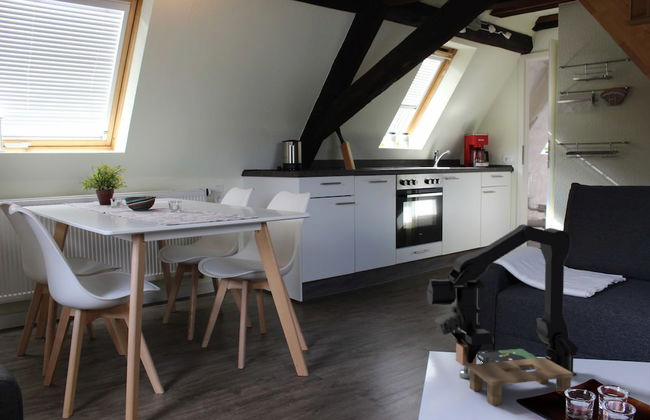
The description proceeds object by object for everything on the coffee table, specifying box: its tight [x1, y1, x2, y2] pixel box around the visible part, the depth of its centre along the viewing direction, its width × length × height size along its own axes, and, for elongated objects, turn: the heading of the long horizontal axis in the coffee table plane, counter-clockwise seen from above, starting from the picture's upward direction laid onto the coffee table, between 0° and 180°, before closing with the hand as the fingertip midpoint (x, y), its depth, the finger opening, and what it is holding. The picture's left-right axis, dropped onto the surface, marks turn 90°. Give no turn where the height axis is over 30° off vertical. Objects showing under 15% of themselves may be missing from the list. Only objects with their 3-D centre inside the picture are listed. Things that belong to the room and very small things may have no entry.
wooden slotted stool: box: [468, 357, 574, 406], centre depth 148 cm, size 22×12×6 cm, turn 103°
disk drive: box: [477, 348, 538, 363], centre depth 170 cm, size 10×3×15 cm
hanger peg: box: [455, 342, 478, 380], centre depth 158 cm, size 4×4×9 cm
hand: (466, 360), depth 158 cm, fingers closed on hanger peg, 4 cm apart
